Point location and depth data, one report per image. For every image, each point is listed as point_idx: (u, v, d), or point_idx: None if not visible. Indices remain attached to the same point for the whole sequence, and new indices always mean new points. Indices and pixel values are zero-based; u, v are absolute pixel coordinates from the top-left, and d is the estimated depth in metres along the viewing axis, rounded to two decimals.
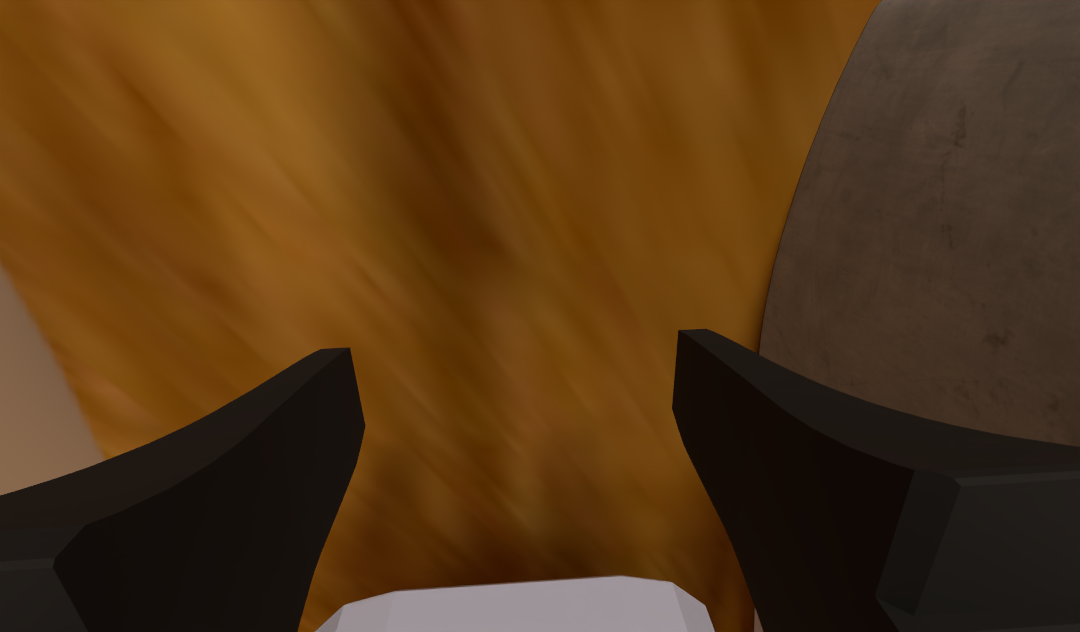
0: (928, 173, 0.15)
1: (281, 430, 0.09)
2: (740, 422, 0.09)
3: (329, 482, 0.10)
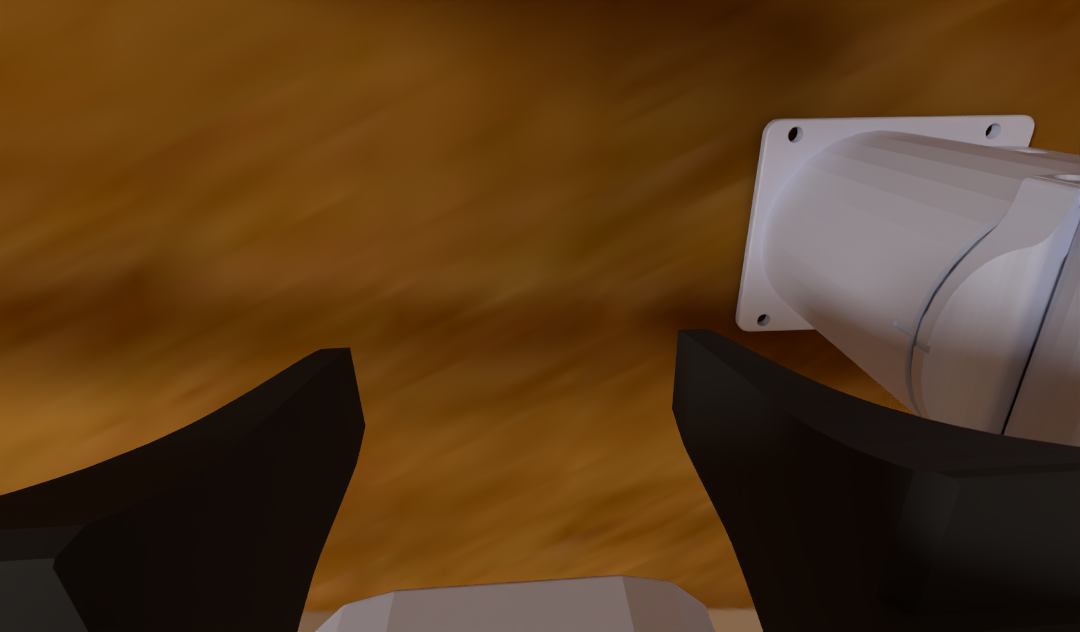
0: None
1: (281, 430, 0.09)
2: (740, 422, 0.09)
3: (329, 482, 0.10)
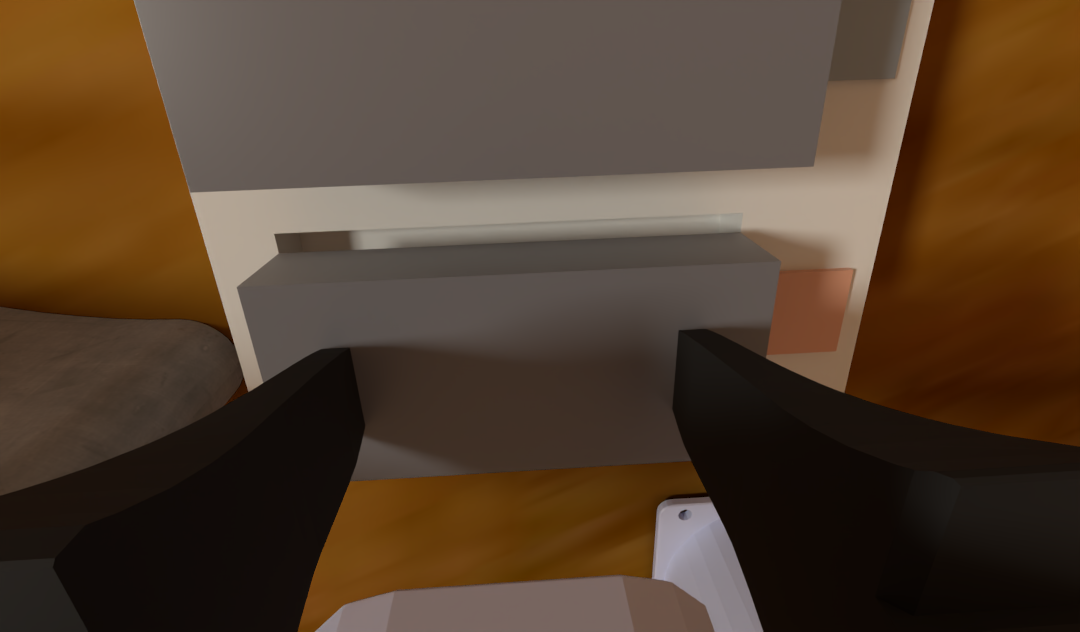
0: None
1: (281, 430, 0.09)
2: (740, 422, 0.09)
3: (329, 482, 0.10)
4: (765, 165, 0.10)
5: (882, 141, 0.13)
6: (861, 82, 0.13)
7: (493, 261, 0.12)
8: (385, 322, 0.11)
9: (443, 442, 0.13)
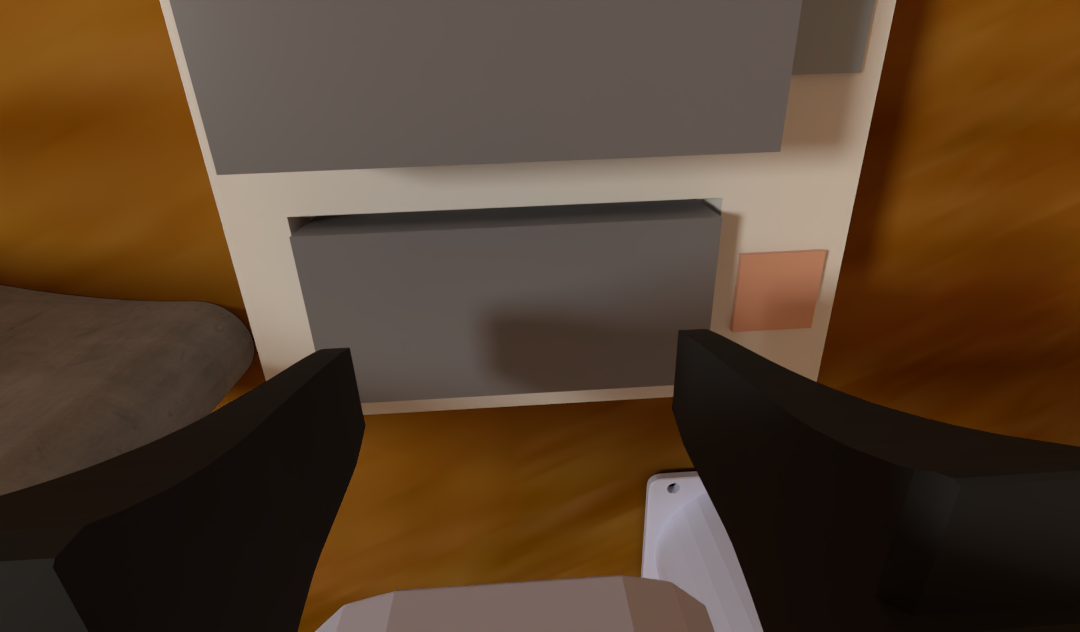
0: None
1: (281, 430, 0.09)
2: (740, 422, 0.09)
3: (329, 482, 0.10)
4: (736, 150, 0.11)
5: (850, 130, 0.14)
6: (830, 76, 0.14)
7: (493, 219, 0.15)
8: (406, 266, 0.14)
9: (452, 369, 0.16)
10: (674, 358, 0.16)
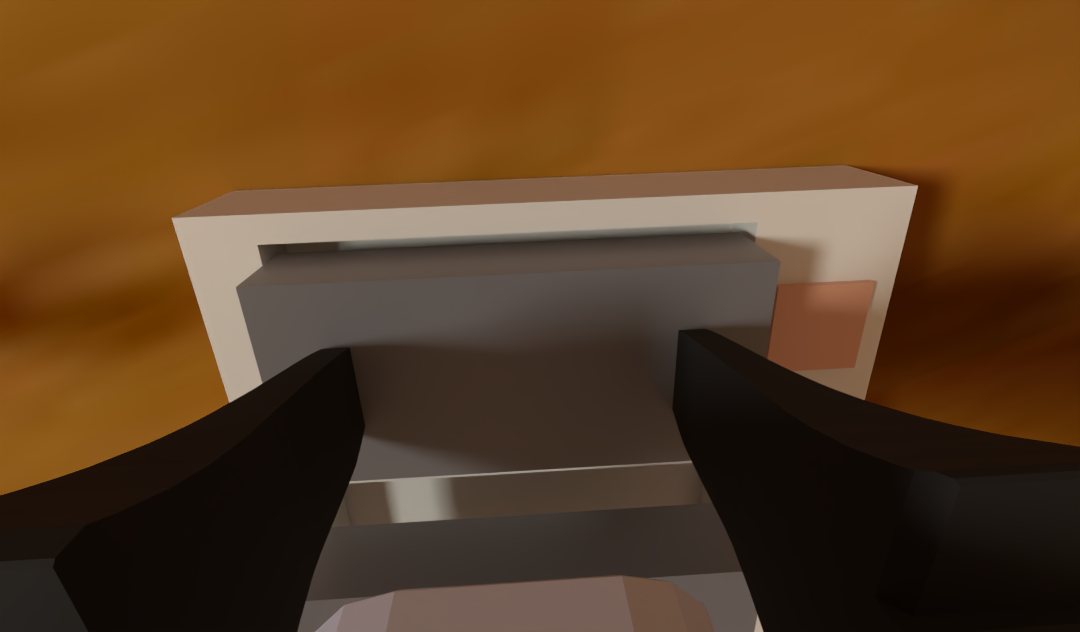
0: None
1: (280, 430, 0.09)
2: (740, 422, 0.09)
3: (329, 482, 0.10)
4: None
5: None
6: None
7: None
8: None
9: None
10: None
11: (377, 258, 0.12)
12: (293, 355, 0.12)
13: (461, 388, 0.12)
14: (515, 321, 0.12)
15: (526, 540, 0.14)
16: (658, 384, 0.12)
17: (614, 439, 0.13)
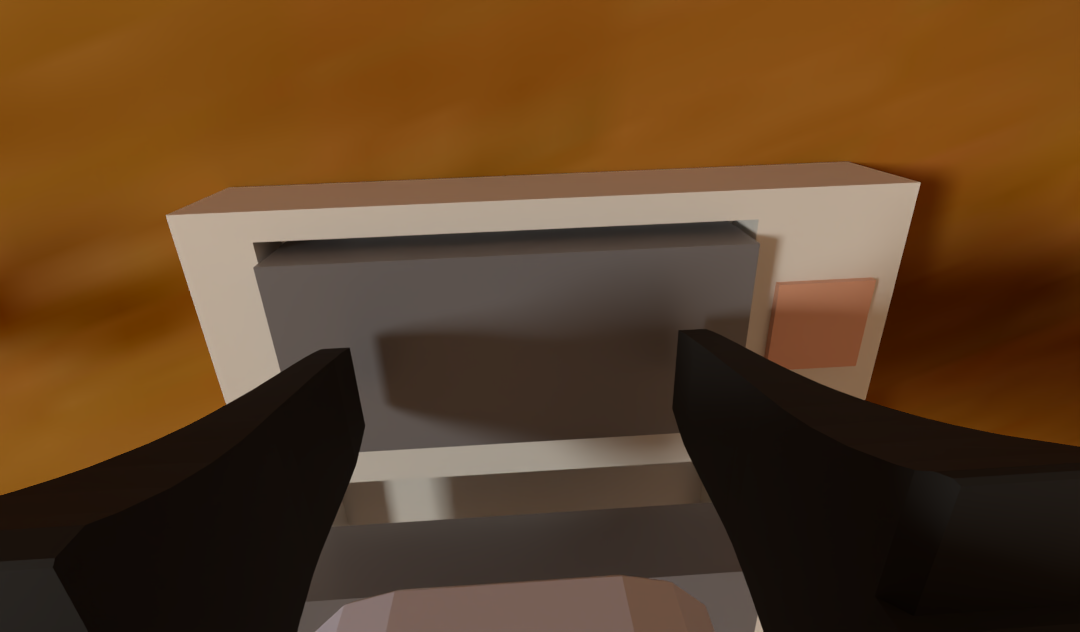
0: None
1: (281, 430, 0.09)
2: (740, 422, 0.09)
3: (329, 482, 0.10)
4: None
5: None
6: None
7: None
8: None
9: None
10: None
11: (384, 242, 0.13)
12: (305, 332, 0.12)
13: (462, 363, 0.13)
14: (512, 299, 0.12)
15: (525, 540, 0.14)
16: (646, 360, 0.13)
17: (606, 412, 0.14)
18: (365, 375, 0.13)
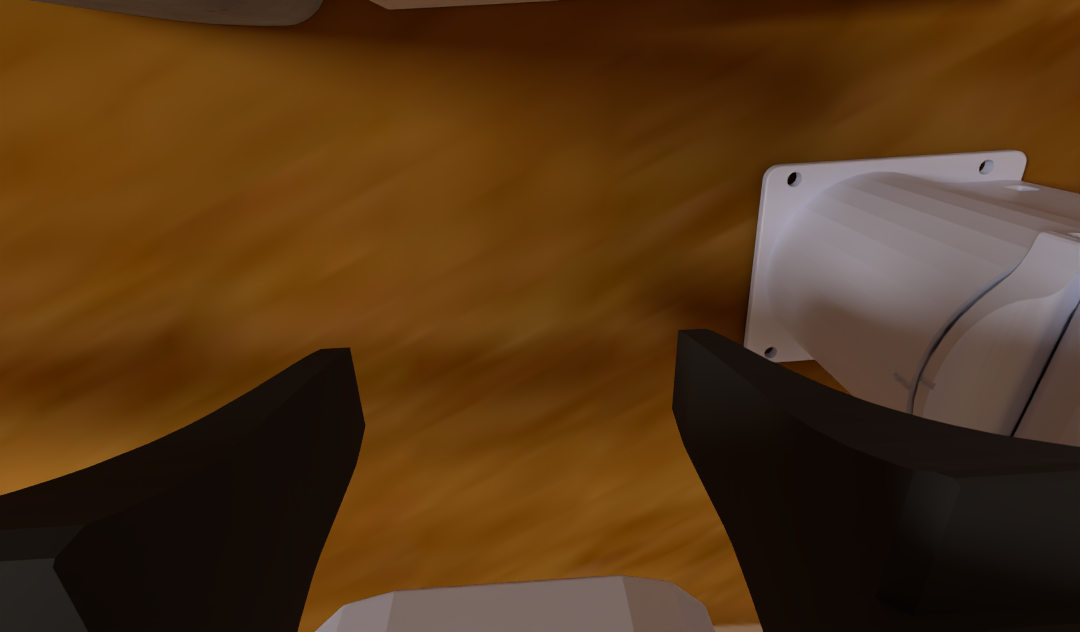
0: None
1: (280, 430, 0.09)
2: (740, 422, 0.09)
3: (329, 482, 0.10)
4: None
5: None
6: None
7: None
8: None
9: None
10: None
11: None
12: None
13: None
14: None
15: None
16: None
17: None
18: None
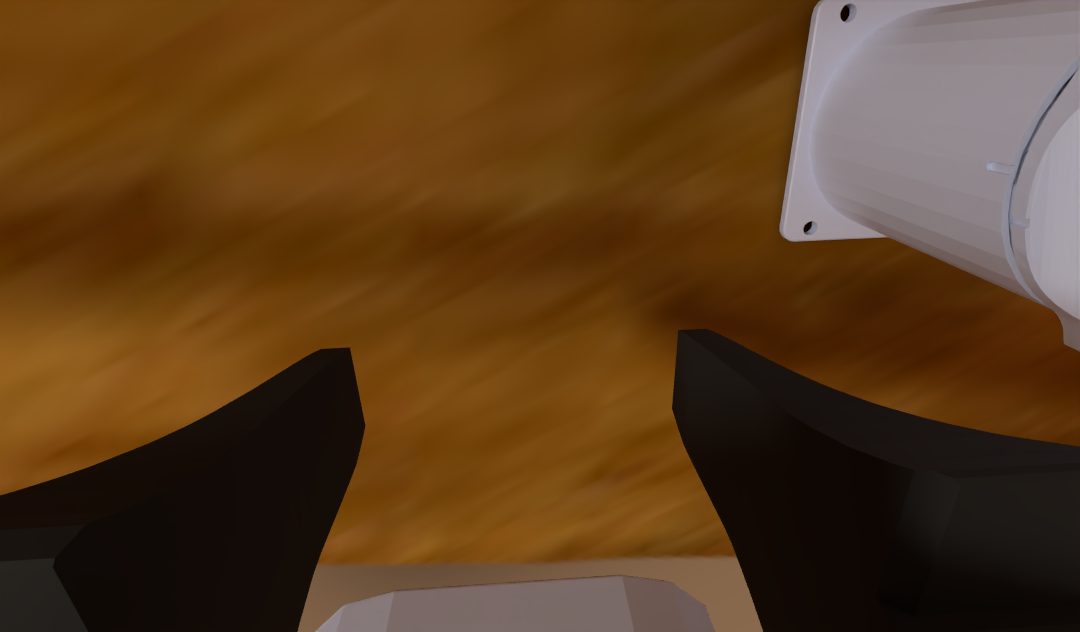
0: None
1: (281, 430, 0.09)
2: (740, 422, 0.09)
3: (329, 482, 0.10)
4: None
5: None
6: None
7: None
8: None
9: None
10: None
11: None
12: None
13: None
14: None
15: None
16: None
17: None
18: None
